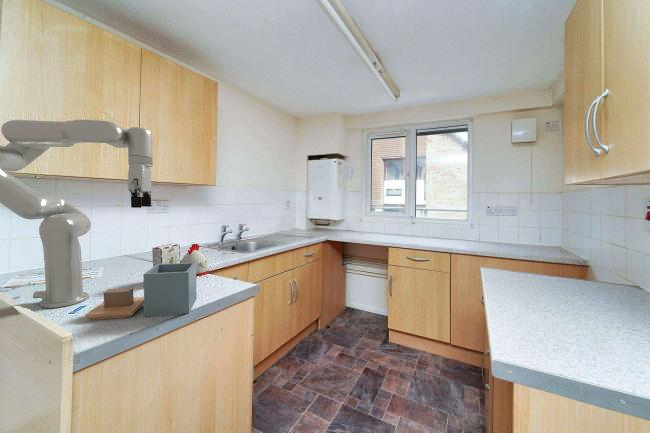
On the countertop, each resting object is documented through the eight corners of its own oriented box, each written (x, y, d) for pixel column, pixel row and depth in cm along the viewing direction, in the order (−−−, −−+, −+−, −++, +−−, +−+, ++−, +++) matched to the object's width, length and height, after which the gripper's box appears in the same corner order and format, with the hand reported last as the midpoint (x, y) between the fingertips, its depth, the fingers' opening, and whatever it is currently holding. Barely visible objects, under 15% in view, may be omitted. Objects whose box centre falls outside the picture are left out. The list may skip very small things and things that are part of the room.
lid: (85, 322, 82) (84, 298, 81) (107, 306, 94) (106, 285, 93) (132, 318, 85) (132, 295, 84) (148, 303, 97) (147, 283, 97)
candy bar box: (171, 277, 127) (171, 243, 126) (181, 278, 126) (180, 243, 125) (152, 284, 116) (151, 247, 115) (162, 285, 115) (161, 248, 114)
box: (144, 317, 86) (143, 274, 85) (157, 301, 98) (157, 264, 97) (189, 313, 89) (188, 272, 88) (196, 298, 102) (196, 262, 101)
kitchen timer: (214, 270, 140) (214, 242, 139) (198, 278, 127) (198, 247, 125) (189, 269, 142) (189, 241, 141) (171, 276, 128) (171, 245, 127)
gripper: (138, 163, 108) (139, 206, 110) (118, 158, 92) (119, 208, 93) (159, 164, 110) (160, 206, 112) (143, 159, 94) (144, 208, 95)
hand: (141, 207), depth 102 cm, fingers open, 9 cm apart
